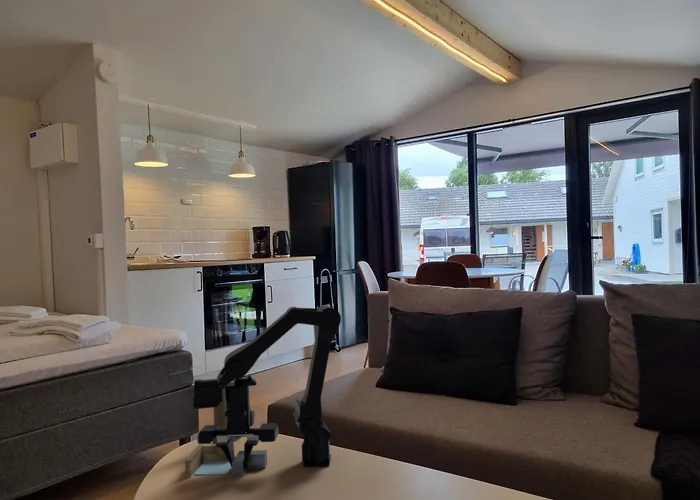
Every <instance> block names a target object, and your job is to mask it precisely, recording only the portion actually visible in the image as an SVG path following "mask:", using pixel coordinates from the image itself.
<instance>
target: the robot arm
mask: <svg viewBox="0 0 700 500" xmlns="http://www.w3.org/2000/svg"><path fill="white" fill-rule="evenodd" d="M341 321H342V317H341V314H340V312H339V311H338V310H337V309H336V308H334V307H332V306H329V305H321V306H319V307H318V308H311V307H297V306H290V307H288V308H287V309H286V311H285V312H284V313H283V314H281V315H280V316H279V317H278V318H277V319H276V320H275V321H274V322H272V323H271V324H270V325H268V327H266V328H265V329H264V330H263V331H261V332H260V333H259V334H257V336H256V337H254V338H253V339H252V340H250V341H249V342H247V343H245V344H243V345H241V346H240V347H238V348H236V349H234V350H233V351H231V352H229V353H228V354H227V355H226V356H225V358H224V361H223V367H222V369H221V370H220V372H219V373H218V374H217V376H216V378H210V379H195V380H194V381H193V398H192V401H193V402H192V403H193V410H201V409H210V408H213V407H218V405H219V404H220V402H223V401H222V389H224V388H225V402H226V412H225V417H226V429H220V426H219V425H214V424H205V425H204V426H203V428H201V430H200V431H198V433H197V437H196V438H197V444H198V445H199V444H212V441H213V440H214V438H217V444H216V446H217V447H220V448H221V449H222V451H223V452H224V454H225V455H226V457H227V459H228V461H229V463H230V465H231V468H232V461H233V460H234V458H235V457H236V455H235V445H234V446H233V443H234V442H233V440H234V437H240V438H246V441H245V442H244V444H243V445H244V448H243V449H244V450H243V451H244V467H245V469H247V466H248V463H249V459H250V455H251V452H252V450H253V449H254V447H255V446H257V445H258V444H259V442H260V443H273V442H275V441H276V439H277V437H278V435H279V433H280V432H279V426H278V424H277V423H276V422H273V423H272V422H267V423H265V422H264V423H261V425H260V426H259V428H257V427H255V428H254V427H253V425H255V416H256V415H255V414H256V413H255V412H256V411H254V410H252V409H251V404H250V387H252V386H253V387H254V386H257V380H256V379H255V378H253V377H252V375H251V374H250V373H249V371H251V369H252V368H253V367H254V365H255V364H256V362H257V361H258V359H259V358H260V357H261V356H262V355H263V353H265V352H266V351H267V350H268V349H270V348H271V347H272V346H273V345H274V344H276V343H277V342H278V341H279V340H280V339H281V338H282V337H283V336H285V335H286V334H287V333H288V332H289V331H291V329H293V328H294V327H296V326H297V325H298V324H299V325H309V326H313V333H314V336H313V337H314V341H313V347H312V352H311V353H312V354H311V359H310V365H309V368H308V376H307V380H306V386H305V391H304V393H303V394H304V395H303V397H302V398H301V399H295V409H294V412H293V413H292V415H293V418H294V420H295V423H296V425H297V428H298V429H299V432H301V434H303V436H304V437H303V441H302V443H301V461H302V462H303V467H327V466H328V467H329V466H330V464H331V459H332V454H331V449H330V447H331V446H330V438H331V435H332V433H331V431H330V430H329V428H328V426H327V425H326V423H325V422H324V421H323V411H322V410H323V409H322V394H323V388H324V383H325V377H326V372H327V366H328V361H329V357H330V351H331V345H332V342H333V341H334V339H335V337H336V335H337V333H338V330H339V328H340V324H341ZM245 376H246V377H245ZM219 386H220V387H219ZM251 427H252V428H251ZM247 470H248V469H247Z"/></svg>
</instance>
